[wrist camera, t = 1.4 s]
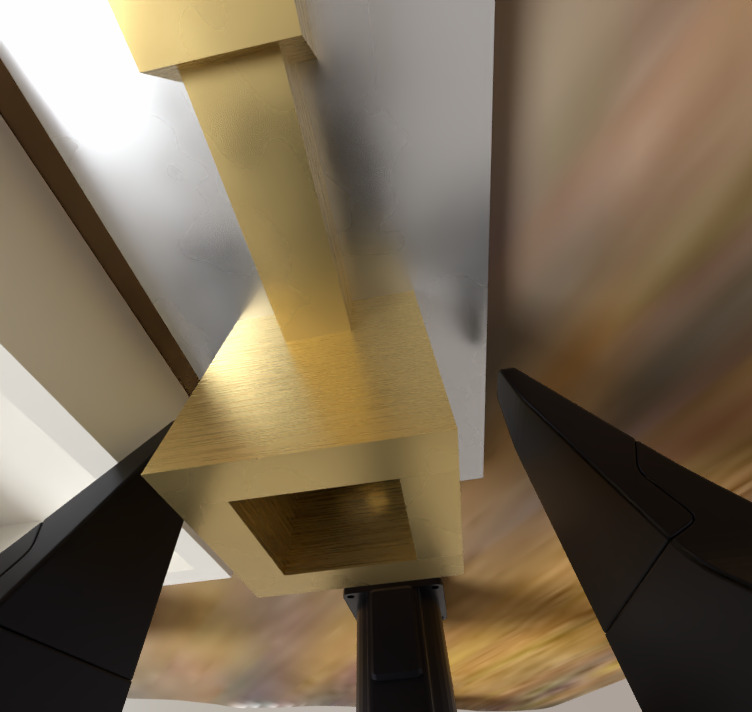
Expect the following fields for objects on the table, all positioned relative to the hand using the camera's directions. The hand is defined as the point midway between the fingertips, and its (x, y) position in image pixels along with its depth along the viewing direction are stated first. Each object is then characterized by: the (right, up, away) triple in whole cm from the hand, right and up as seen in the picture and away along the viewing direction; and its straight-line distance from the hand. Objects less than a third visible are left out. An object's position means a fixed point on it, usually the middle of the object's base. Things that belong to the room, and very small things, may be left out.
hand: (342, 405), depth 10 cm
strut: (-1, +3, -1) cm, 4 cm away
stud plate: (0, +3, +1) cm, 3 cm away
